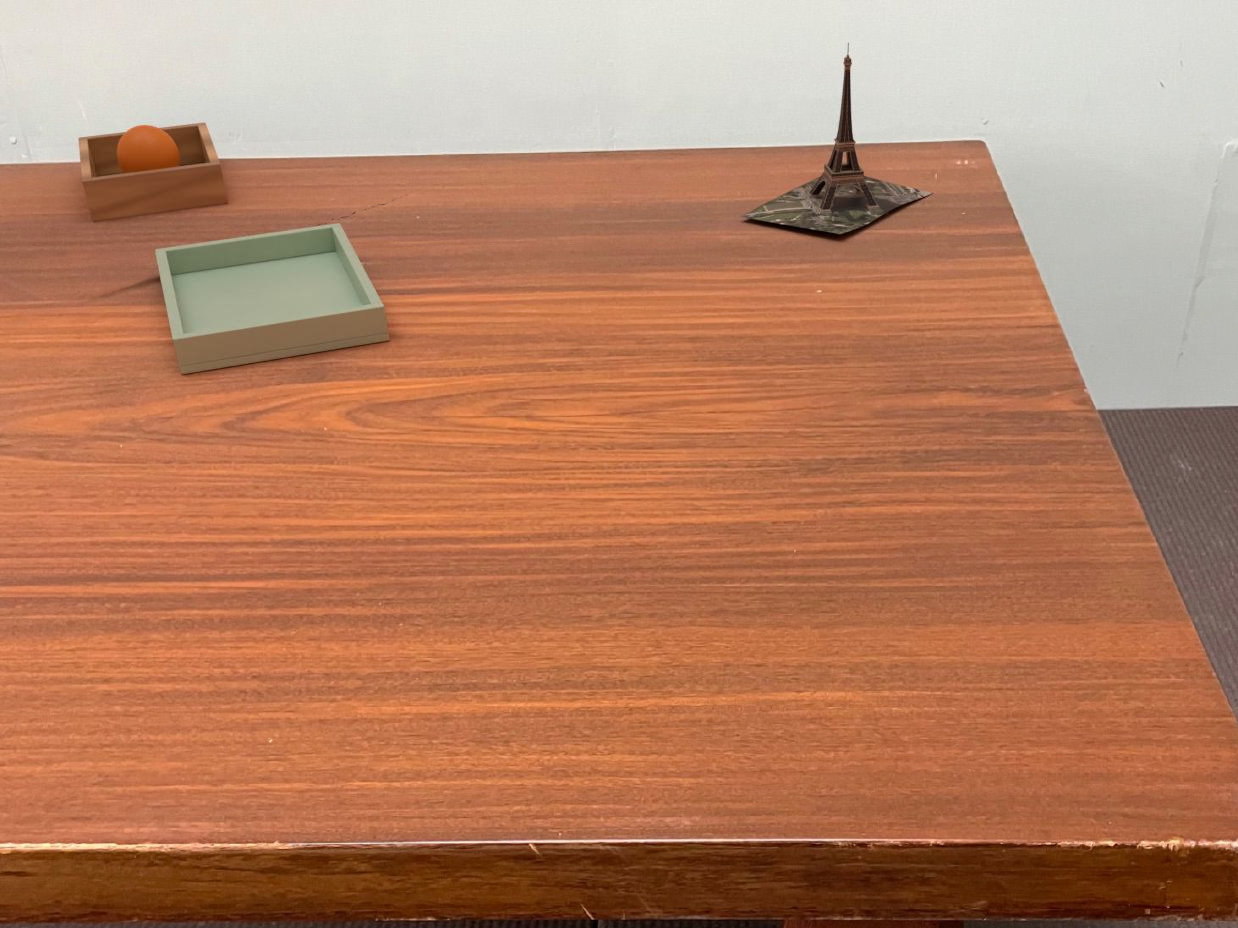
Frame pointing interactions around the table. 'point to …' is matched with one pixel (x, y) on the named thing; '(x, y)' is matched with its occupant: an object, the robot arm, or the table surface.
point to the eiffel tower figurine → (837, 187)
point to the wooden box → (151, 177)
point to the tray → (268, 298)
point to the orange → (146, 150)
